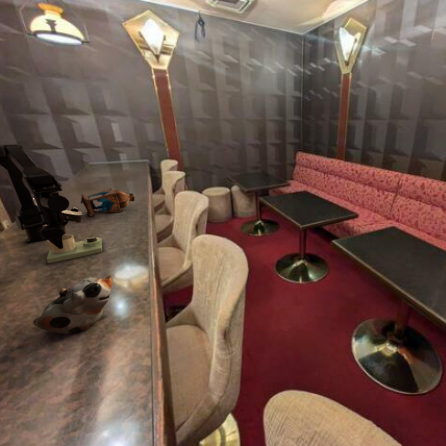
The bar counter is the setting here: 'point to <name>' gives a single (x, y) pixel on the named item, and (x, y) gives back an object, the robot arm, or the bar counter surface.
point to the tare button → (91, 239)
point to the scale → (77, 251)
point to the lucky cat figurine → (76, 306)
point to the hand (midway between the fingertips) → (62, 244)
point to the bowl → (64, 244)
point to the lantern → (107, 201)
